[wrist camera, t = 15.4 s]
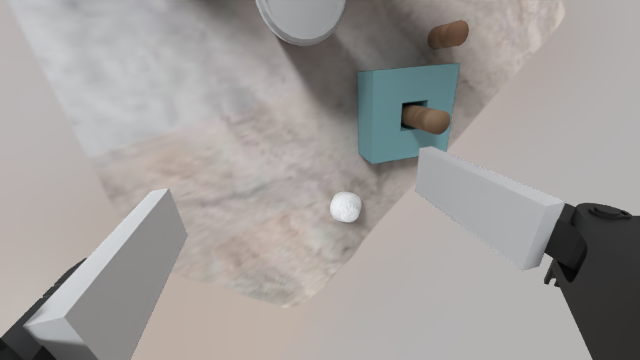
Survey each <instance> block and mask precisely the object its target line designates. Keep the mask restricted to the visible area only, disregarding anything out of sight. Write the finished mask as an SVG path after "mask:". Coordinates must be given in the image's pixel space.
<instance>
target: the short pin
mask: <svg viewBox="0 0 640 360" xmlns="http://www.w3.org/2000/svg"><path fill="white" fill-rule="evenodd" d="M468 32H469V28H468V25H467V23H466V22H465V21H463V20H460V21H456V22H453V23H449V24H445V25H442V26H438V27H435V28H433V29H432V30H431V32H430V33H429V36H428V44H429V46H430V47H431V48H432V49H439V48H445V47H452V46H458V45H461V44H462V43H463V42H464V41H465V40H466V38H467V36H468Z"/></svg>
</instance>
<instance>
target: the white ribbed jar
mask: <svg viewBox="0 0 640 360" xmlns="http://www.w3.org/2000/svg"><path fill="white" fill-rule="evenodd" d="M361 207H362V203H361V200H360V198H359V197H358V196H357V195H356V194H354V193H350V192H339V193H337V194H336V195H334V197H333V199H332V201H331V206H330V212H331V215H332V216H333V218H334V219H336V220H338V221H340V222H348V223H350V222H353V221H355V220H356V219H358V216H359V213H360V211H361Z"/></svg>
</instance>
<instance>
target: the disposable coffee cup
mask: <svg viewBox="0 0 640 360" xmlns="http://www.w3.org/2000/svg"><path fill="white" fill-rule="evenodd" d="M256 4H257V7H258V10H259V12H260V14H261V16H262V18H263V20H264V22H265V23H266V25H267V26H268V27H269V28H270V30H271V31H272V32H273V33H274V34H275V35H277V36H278V37H279V38H281V39H282V40H284V41H286V42H288V43H290V44H293V45H298V46H311V45H315V44H318V43H320V42H322V41H324V40H325V39H327V38H328V37H329V36H330V35H331V34H332V33H333V32H334V31H335V30H336V28H337V26H338V25H339V23H340V21H341V19H342V16H343V14H344V10H345V6H346V0H256Z"/></svg>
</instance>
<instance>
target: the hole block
mask: <svg viewBox="0 0 640 360" xmlns="http://www.w3.org/2000/svg"><path fill="white" fill-rule="evenodd" d="M459 65H460V63H453V64H438V65H426V66H415V67H405V68H394V69H383V70H373V71H362V72H358V142H359V154H360V155H361V156H363V157H364V158H365V159H366V160H368V161H369V162H370V163H371V164H375V163H381V162H387V161H393V160H399V159H405V158H411V157H417V156H419V148H424V147H431V146H432V147H434V148H437V149H439V150H442V151H444V152H446V151H447V144H448V138H449V131H450V125H451V118H452V111H453V105H454V98H455V92H456V85H457V78H458V72H459ZM402 103H406V104H411V105H416V106H421V107H427V108H432V109H437V110H442V111H446V112H448V113H449V115H450V125H449V127H448V128H447V130H446V131H445V132H443V133H442V134H439V135H435V134H432V133H429V132H426V131H423V130H420V129H417V128H415V127H412V126H409V125H406V124H403V123H401V113H402Z"/></svg>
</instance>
